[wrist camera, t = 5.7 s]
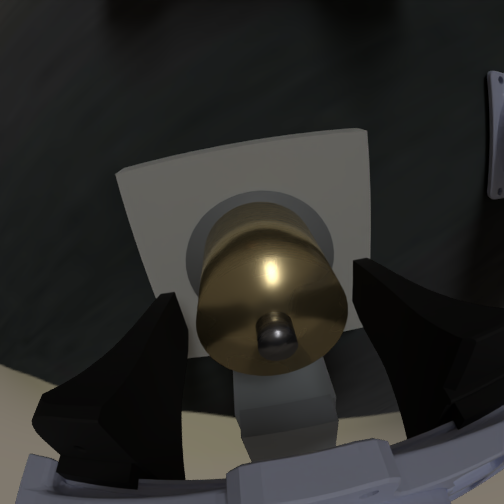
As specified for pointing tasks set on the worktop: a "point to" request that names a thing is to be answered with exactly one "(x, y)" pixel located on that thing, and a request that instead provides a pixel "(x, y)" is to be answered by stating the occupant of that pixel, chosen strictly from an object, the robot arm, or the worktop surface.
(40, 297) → the worktop surface
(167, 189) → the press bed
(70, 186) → the worktop surface
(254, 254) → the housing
